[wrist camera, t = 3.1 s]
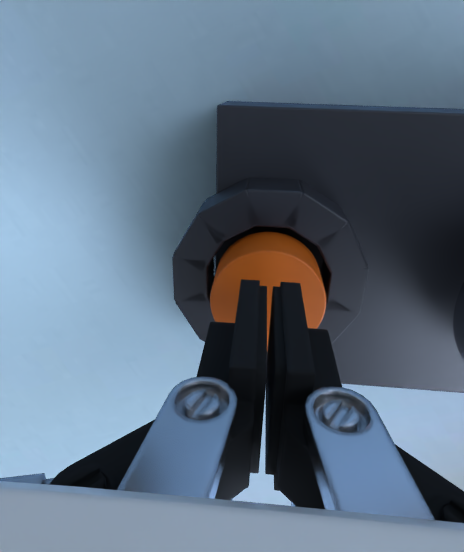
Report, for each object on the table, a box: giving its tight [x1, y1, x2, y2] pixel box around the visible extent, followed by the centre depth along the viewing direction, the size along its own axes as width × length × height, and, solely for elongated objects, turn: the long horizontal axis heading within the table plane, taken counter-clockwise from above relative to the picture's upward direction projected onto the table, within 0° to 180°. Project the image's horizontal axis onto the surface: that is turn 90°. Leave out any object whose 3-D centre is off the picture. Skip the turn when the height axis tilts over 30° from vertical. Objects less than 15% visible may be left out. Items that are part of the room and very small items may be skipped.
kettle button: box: [210, 232, 326, 351], centre depth 13 cm, size 4×4×2 cm
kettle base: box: [172, 101, 464, 393], centre depth 15 cm, size 17×11×5 cm, turn 88°
